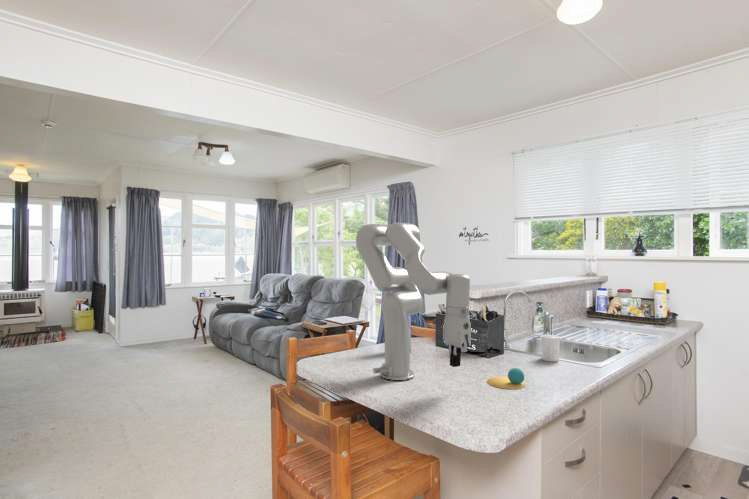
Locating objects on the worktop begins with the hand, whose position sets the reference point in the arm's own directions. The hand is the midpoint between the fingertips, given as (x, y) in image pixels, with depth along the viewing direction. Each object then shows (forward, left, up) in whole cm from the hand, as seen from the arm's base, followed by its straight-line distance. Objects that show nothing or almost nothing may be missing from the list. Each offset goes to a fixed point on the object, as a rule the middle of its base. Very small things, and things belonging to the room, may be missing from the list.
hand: (454, 365), depth 139 cm
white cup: (+61, +14, -9) cm, 64 cm away
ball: (+24, -4, -6) cm, 25 cm away
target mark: (+21, -1, -9) cm, 23 cm away
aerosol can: (+11, +54, -9) cm, 56 cm away
